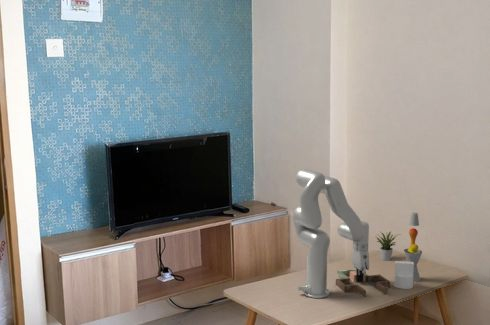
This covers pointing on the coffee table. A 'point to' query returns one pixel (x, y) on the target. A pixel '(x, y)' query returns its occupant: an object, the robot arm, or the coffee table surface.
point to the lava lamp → (413, 247)
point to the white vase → (403, 274)
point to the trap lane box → (345, 285)
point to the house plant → (386, 246)
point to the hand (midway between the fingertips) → (359, 281)
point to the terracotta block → (353, 276)
